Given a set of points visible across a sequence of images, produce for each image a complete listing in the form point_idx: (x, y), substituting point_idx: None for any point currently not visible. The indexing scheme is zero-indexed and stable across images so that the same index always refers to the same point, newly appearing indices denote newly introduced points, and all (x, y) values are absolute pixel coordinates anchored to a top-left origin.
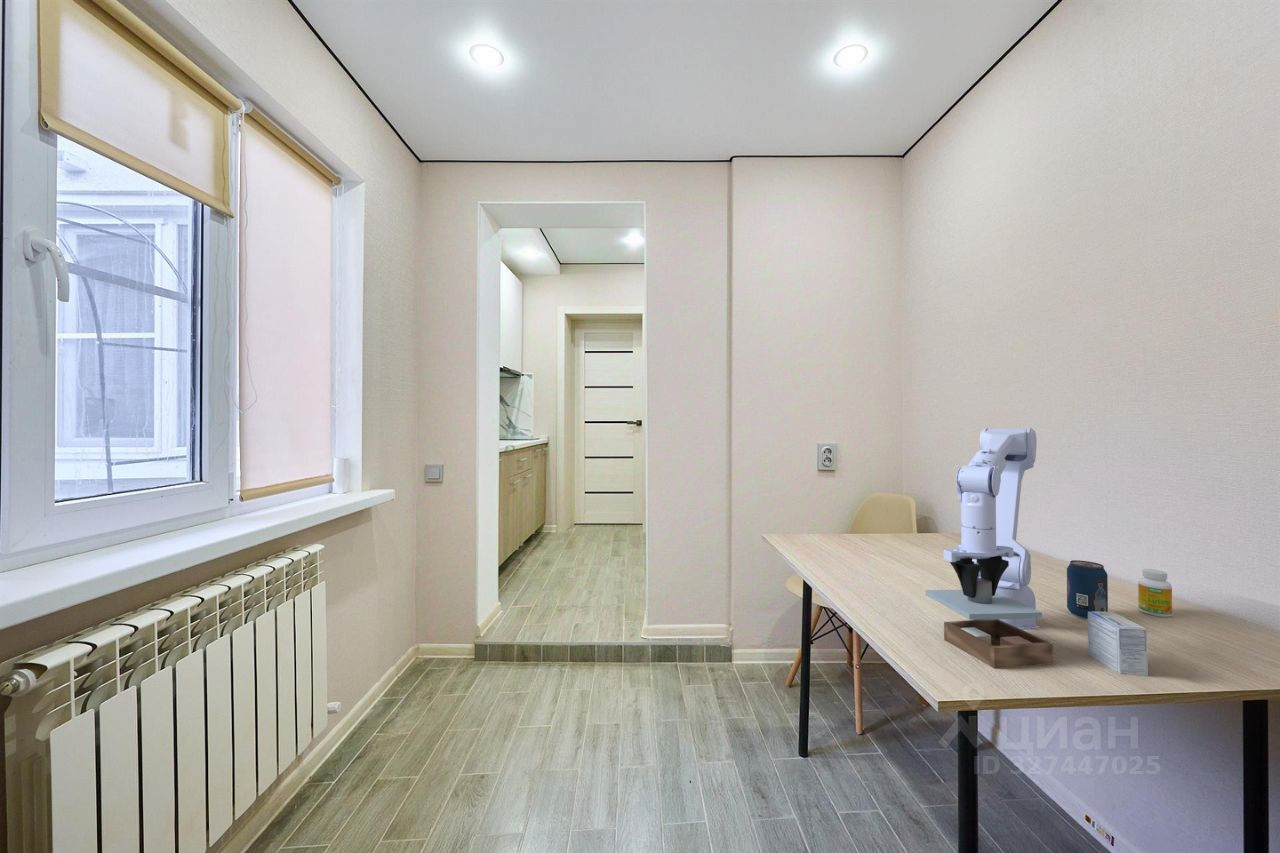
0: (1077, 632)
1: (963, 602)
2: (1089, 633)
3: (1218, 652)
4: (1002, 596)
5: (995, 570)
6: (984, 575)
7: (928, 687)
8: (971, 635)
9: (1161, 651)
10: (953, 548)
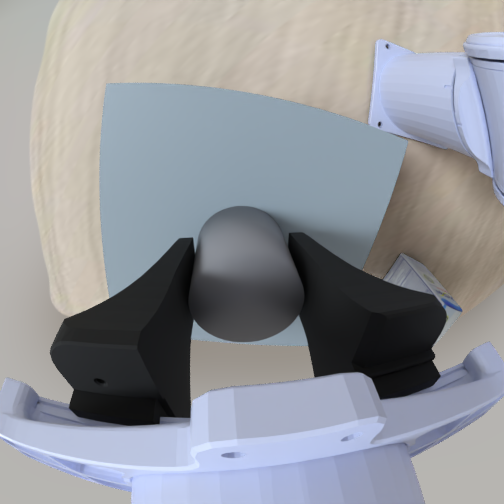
0: (473, 180)
1: (158, 252)
2: (419, 280)
3: (501, 266)
4: (369, 225)
5: (319, 374)
6: (315, 291)
7: (52, 292)
8: None
9: (476, 256)
10: (48, 454)
